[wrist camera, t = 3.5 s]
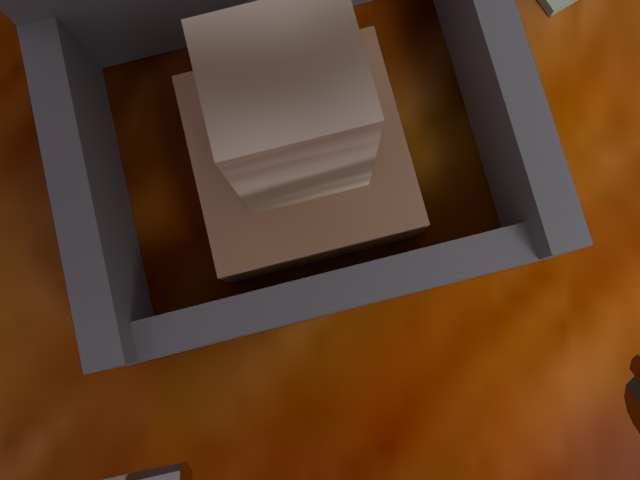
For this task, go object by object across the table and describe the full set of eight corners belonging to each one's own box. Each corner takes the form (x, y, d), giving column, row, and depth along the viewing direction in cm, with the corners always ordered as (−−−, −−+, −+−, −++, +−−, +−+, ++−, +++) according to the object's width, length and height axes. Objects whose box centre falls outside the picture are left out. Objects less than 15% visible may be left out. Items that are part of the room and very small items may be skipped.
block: (368, 184, 25) (384, 120, 17) (252, 214, 25) (214, 163, 17) (342, 84, 26) (345, -22, 18) (228, 113, 26) (181, 19, 18)
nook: (547, 259, 28) (618, 237, 21) (128, 365, 27) (58, 379, 20) (451, -51, 30) (487, -164, 23) (64, 46, 30) (-19, -39, 23)
